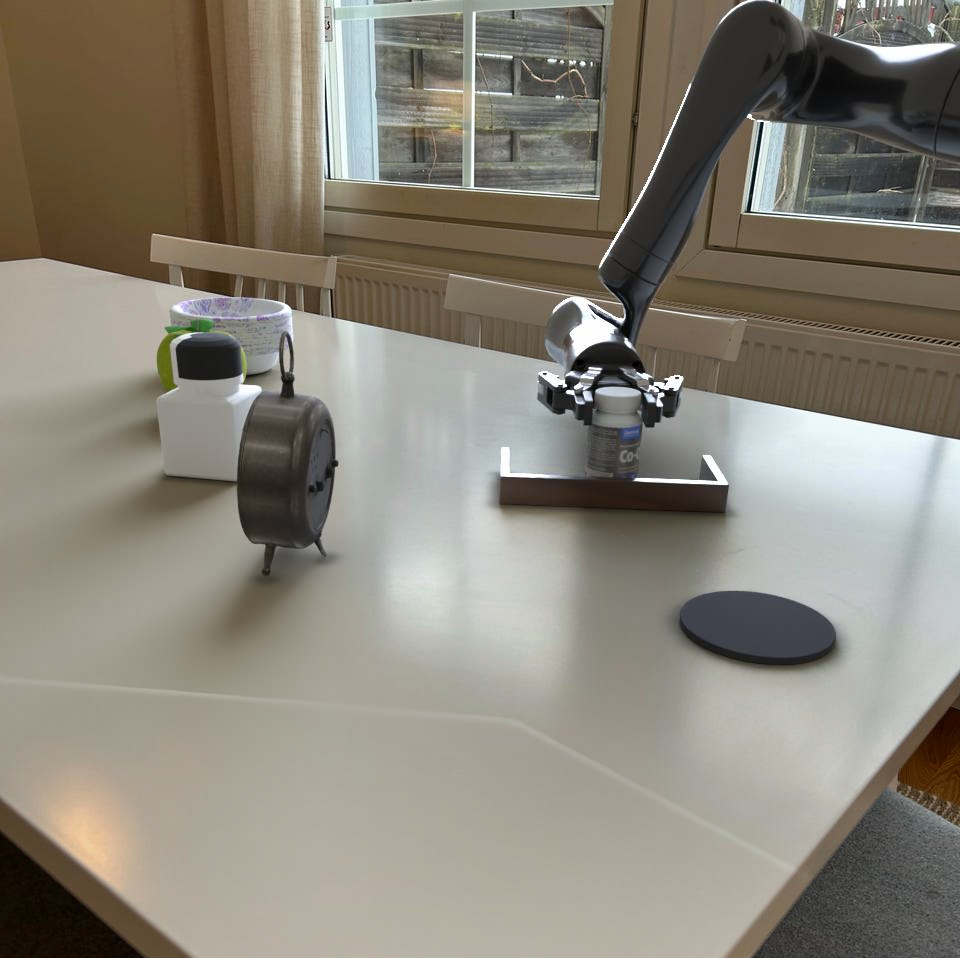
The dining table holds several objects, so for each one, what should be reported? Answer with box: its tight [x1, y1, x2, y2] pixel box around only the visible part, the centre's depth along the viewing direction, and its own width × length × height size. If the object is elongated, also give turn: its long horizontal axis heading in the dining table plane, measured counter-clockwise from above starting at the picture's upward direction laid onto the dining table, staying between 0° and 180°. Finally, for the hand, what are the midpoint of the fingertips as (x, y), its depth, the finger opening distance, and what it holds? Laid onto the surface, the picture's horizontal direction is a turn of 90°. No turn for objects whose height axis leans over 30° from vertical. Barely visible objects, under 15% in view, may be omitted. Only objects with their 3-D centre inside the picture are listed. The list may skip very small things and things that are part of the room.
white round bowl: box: [169, 296, 294, 376], centre depth 127 cm, size 15×15×8 cm
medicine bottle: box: [155, 332, 263, 482], centre depth 89 cm, size 7×7×12 cm
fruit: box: [156, 319, 247, 393], centre depth 107 cm, size 9×9×10 cm
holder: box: [498, 447, 730, 513], centre depth 88 cm, size 9×20×2 cm, turn 89°
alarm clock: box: [236, 331, 339, 577], centre depth 70 cm, size 11×5×16 cm, turn 174°
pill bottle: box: [584, 387, 644, 478], centre depth 87 cm, size 5×5×8 cm
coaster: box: [679, 590, 837, 666], centre depth 65 cm, size 10×10×1 cm
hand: (620, 415), depth 83 cm, fingers closed on pill bottle, 4 cm apart
